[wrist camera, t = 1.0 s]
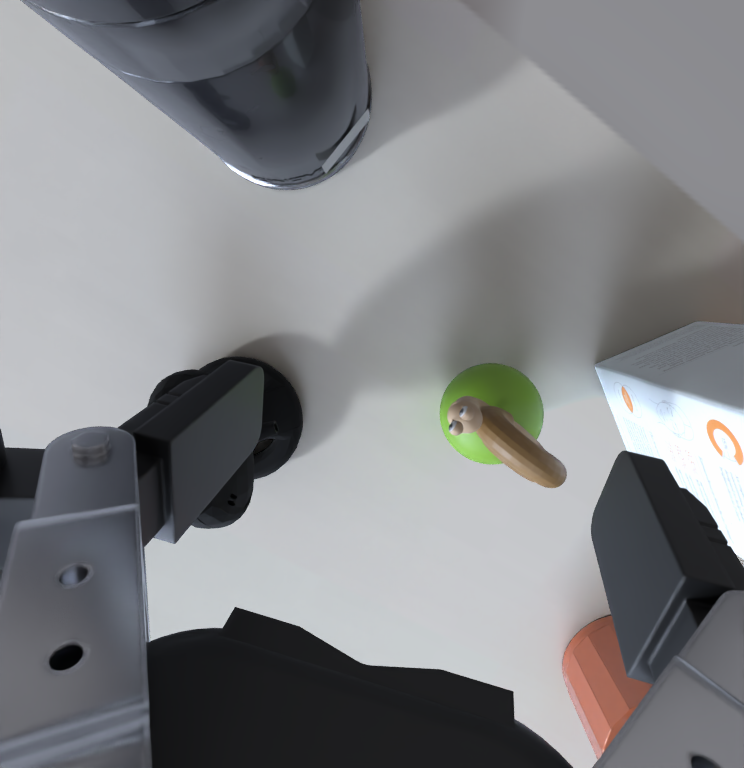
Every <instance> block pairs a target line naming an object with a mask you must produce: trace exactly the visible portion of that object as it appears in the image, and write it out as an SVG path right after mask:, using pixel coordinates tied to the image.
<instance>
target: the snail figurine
mask: <svg viewBox="0 0 744 768" xmlns="http://www.w3.org/2000/svg"><path fill="white" fill-rule="evenodd" d="M543 417H544V412H543V404H542V400H541V397H540V395H539V393H538V391H537V389H536V387H535V386H534V385H533V383H532V382H531V381H530V380H529V379H528V378H527V377H526V376H525V375H524V374H522V373H521V372H519V371H518V370H516V369H514V368H512V367H509V366H506V365H502V364H495V363H486V364H480V365H476V366H473V367H470V368H468V369H466V370H464V371H463V372H461V373H460V374H459V375H457V376H456V377H455V378H454V379H453V380H452V381H451V383H450V384H449V385H448V387H447V388H446V390H445V392H444V395H443V397H442V401H441V405H440V421H441V426H442V429H443V432H444V434H445V436H446V438H447V440H448V441H449V443H450V444H451V445H452V446H453V447H454V448H455V449H456V450H457V451H458V452H459V453H460V454H462V455H463V456H465V457H466V458H468V459H470V460H473V461H475V462H479V463H483V464H502V463H504V464H505V465H507V466H508V467H509V468H511V469H512V470H513V471H515V472H516V473H518V474H519V475H521V476H522V477H524V478H526V479H528V480H530V481H532V482H536V483H538V484H539V485H541V486H544V487H547V488H556V487H559V486H560V485H562V484H563V483H564V481H565V479H566V476H567V472H566V468H565V466H564V465H563V464H562V462H560V461H559V460H558V459H557V458H555V457H554V456H553V455H551V454H550V453H548V452H547V451H546V450H545V449H544V448H543V447H542V446H541V444H540V443H539V442H538V441H537V438H538V436H539V434H540V432H541V429H542V425H543Z"/></svg>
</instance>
